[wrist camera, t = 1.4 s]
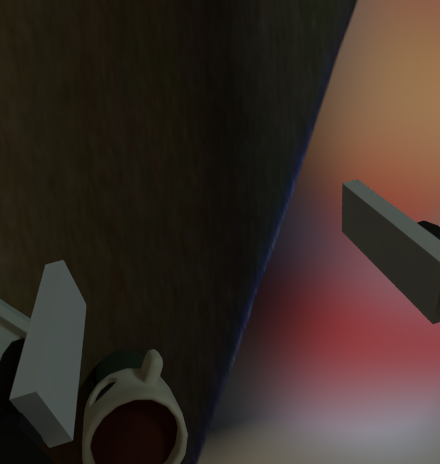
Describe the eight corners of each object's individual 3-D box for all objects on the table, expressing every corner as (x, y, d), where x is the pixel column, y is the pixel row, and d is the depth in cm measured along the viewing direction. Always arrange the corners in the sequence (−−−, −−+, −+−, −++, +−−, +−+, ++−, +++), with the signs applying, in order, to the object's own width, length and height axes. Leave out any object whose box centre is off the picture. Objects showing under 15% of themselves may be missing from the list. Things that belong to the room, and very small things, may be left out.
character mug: (108, 317, 37) (113, 353, 25) (174, 335, 40) (210, 377, 27) (67, 427, 36) (53, 523, 24) (139, 441, 38) (159, 535, 26)
